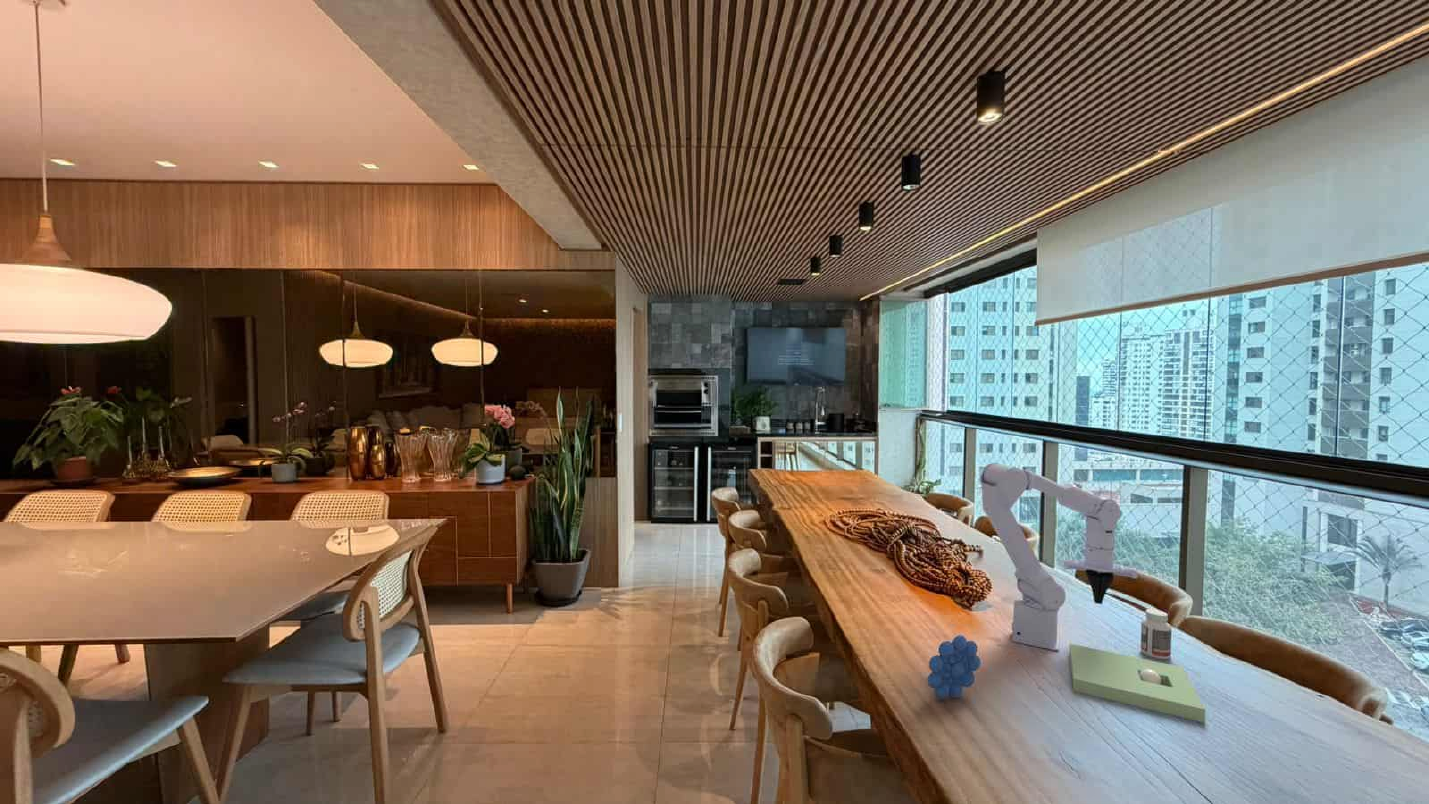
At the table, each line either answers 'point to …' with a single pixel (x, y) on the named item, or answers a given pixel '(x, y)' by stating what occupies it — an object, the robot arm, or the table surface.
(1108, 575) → the robot arm
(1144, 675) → the ball
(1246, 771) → the table surface
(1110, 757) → the table surface
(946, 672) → the grapes
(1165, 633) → the pill bottle
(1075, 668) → the putting mat
